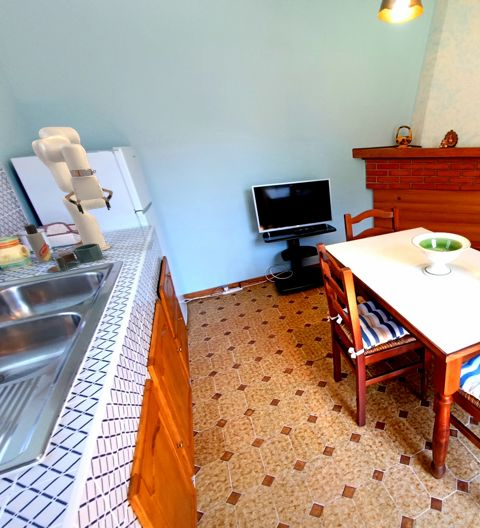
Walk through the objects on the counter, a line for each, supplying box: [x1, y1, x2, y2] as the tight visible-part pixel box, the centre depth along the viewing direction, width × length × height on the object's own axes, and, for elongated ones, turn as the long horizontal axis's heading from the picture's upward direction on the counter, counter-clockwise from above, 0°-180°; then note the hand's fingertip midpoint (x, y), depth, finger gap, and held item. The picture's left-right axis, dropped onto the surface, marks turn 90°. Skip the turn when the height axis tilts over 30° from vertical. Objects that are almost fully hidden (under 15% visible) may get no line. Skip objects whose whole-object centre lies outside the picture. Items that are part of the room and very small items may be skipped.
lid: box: [46, 256, 79, 274], centre depth 142 cm, size 11×11×6 cm
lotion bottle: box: [23, 223, 55, 264], centre depth 149 cm, size 6×6×20 cm
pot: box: [72, 244, 105, 264], centre depth 151 cm, size 10×10×7 cm
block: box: [58, 251, 77, 263], centre depth 151 cm, size 4×4×4 cm
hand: (96, 211), depth 140 cm, fingers open, 9 cm apart
